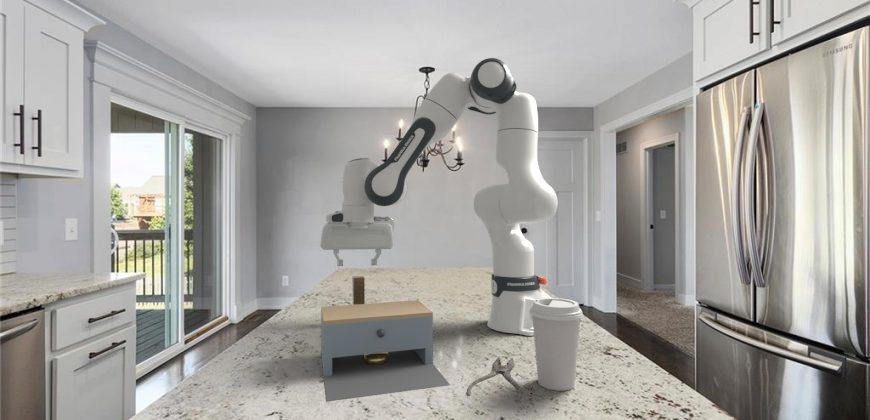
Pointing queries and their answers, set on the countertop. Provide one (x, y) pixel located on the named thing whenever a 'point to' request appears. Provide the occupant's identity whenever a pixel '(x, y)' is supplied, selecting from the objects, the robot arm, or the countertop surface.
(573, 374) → the coffee cup
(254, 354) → the countertop surface
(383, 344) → the cabinet
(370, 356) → the token
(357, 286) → the sweep tool
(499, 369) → the pliers
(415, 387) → the mat
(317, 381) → the countertop surface
